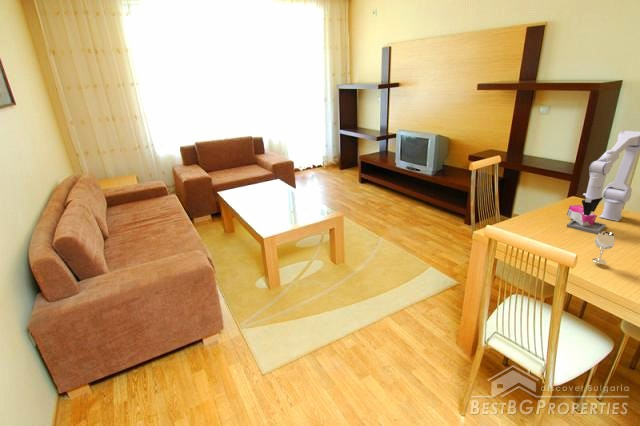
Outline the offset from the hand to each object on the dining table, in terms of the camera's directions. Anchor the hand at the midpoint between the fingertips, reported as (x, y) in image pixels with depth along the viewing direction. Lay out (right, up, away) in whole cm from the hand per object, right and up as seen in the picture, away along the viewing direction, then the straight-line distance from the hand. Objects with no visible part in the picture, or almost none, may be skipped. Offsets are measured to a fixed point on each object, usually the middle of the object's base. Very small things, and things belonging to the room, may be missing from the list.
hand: (589, 213), depth 165 cm
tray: (0, -7, +2) cm, 7 cm away
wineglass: (-19, -19, -29) cm, 40 cm away
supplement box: (+1, +2, +11) cm, 11 cm away
